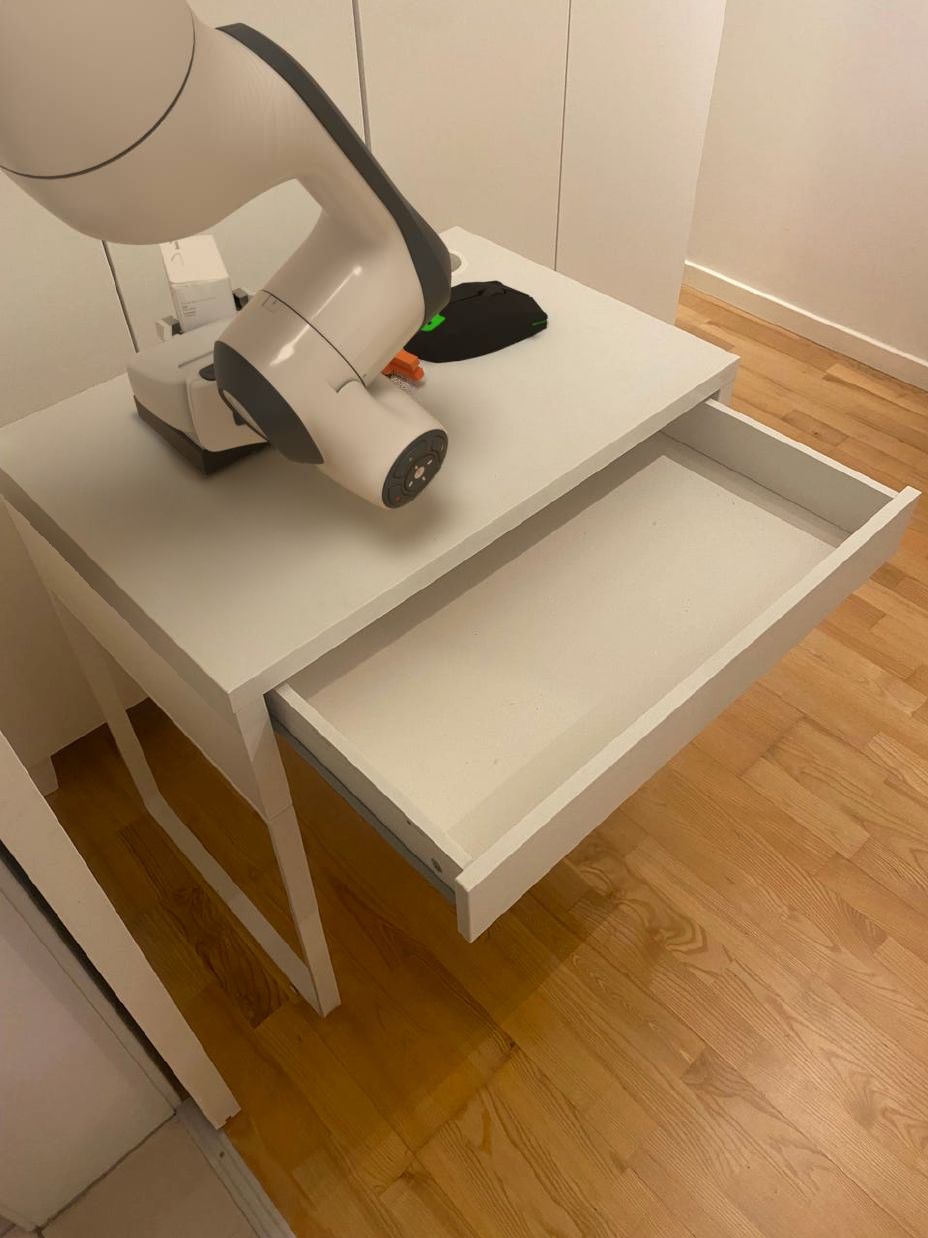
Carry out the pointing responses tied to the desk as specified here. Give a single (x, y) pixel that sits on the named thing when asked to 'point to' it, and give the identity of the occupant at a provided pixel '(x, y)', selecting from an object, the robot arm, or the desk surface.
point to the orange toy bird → (405, 366)
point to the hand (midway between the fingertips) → (200, 310)
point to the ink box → (197, 281)
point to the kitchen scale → (196, 444)
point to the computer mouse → (478, 323)
